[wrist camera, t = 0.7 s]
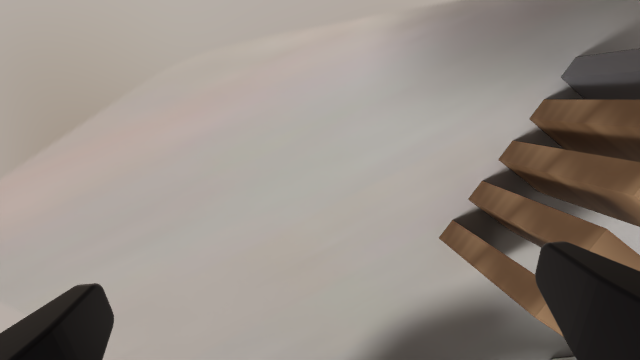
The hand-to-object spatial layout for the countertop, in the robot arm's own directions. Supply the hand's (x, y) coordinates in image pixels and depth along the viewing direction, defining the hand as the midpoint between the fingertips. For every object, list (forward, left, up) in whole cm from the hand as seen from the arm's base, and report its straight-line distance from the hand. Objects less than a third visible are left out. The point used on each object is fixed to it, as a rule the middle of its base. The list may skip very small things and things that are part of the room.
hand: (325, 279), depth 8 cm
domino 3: (-7, -15, -17) cm, 24 cm away
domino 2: (-9, -12, -17) cm, 23 cm away
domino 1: (-11, -9, -17) cm, 22 cm away
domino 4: (-6, -18, -17) cm, 25 cm away
